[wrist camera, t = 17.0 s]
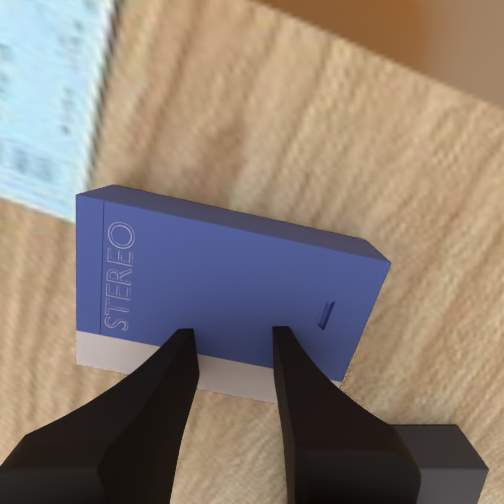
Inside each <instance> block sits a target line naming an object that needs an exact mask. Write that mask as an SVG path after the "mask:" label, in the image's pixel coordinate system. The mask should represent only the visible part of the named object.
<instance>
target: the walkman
mask: <svg viewBox="0 0 504 504" xmlns="http://www.w3.org/2000/svg"><path fill="white" fill-rule="evenodd" d="M390 265H391V262H390V261H389V260H388V259H387V258H385V257H384V256H383V255H382V254H381V253H380V252H379V251H378V250H377V249H375V248H374V247H373V246H372V245H371V244H370V243H369V242H368V241H366V240H364V239H359V238H354V237H350V236H345V235H341V234H336V233H332V232H327V231H323V230H318V229H313V228H309V227H304V226H300V225H295V224H291V223H286V222H282V221H277V220H272V219H268V218H263V217H259V216H254V215H250V214H245V213H241V212H236V211H231V210H227V209H222V208H218V207H213V206H209V205H204V204H200V203H195V202H190V201H186V200H181V199H177V198H172V197H168V196H163V195H159V194H154V193H149V192H145V191H140V190H136V189H131V188H127V187H122V186H118V185H110V186H106V187H103V188H99V189H95V190H91V191H87V192H84V193H80V194H77V195H76V363H77V364H78V365H83V366H88V367H93V368H99V369H104V370H109V371H115V372H120V373H125V374H131V373H132V372H133V371H134V370H136V369H137V368H138V367H139V366H140V365H142V364H143V363H144V362H145V361H146V360H147V359H148V358H149V357H150V356H151V355H153V354H154V353H155V352H156V351H157V350H158V349H159V348H160V347H161V346H162V345H163V344H164V343H165V342H166V341H167V340H168V339H169V338H170V337H171V336H172V335H173V334H174V333H175V332H176V331H177V330H178V329H184V328H193V329H194V336H195V343H196V350H197V357H198V364H199V371H200V376H199V381H198V385H197V388H196V389H200V390H205V391H211V392H216V393H221V394H226V395H232V396H237V397H242V398H248V399H253V400H258V401H263V402H269V403H274V404H278V402H277V396H276V390H275V383H274V374H273V337H272V326H288V327H290V328H291V330H292V332H293V334H294V335H295V337H296V339H297V340H298V342H299V343H300V345H301V346H302V347H303V349H304V350H305V352H306V353H307V354H308V356H309V357H310V358H311V359H312V361H313V362H314V363H315V364H316V365H317V367H318V368H319V369H320V370H321V371H322V372H323V373H324V374H325V375H326V376H327V377H328V378H329V379H330V380H331V381H332V382H333V383H334V384H335V385H336V386H337V387H338V388H340V386H341V384H342V380H343V378H344V376H345V373H346V371H347V368H348V366H349V364H350V361H351V359H352V356H353V354H354V352H355V349H356V347H357V345H358V342H359V340H360V337H361V335H362V333H363V330H364V328H365V325H366V323H367V321H368V318H369V316H370V313H371V311H372V309H373V306H374V304H375V301H376V299H377V297H378V294H379V292H380V289H381V287H382V285H383V282H384V280H385V277H386V275H387V273H388V270H389V268H390Z"/></svg>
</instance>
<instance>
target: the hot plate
mask: <svg viewBox="0 0 504 504" xmlns="http://www.w3.org/2000/svg"><path fill="white" fill-rule="evenodd" d="M390 426H391V427H393V428H395V429H396V430H397V432H398V433H399V435H400V436H401V438H402V439H403V441H404V442H405V444H406V445H407V447H408V449H409V450H410V452H411V454H412V455H413V457H414V459H415V461H416V463H417V465H418V468H419V470H420V473H421V475H422V476H421V486H420V490H419V494H418V498H417V504H477V503H478V500H479V497H480V494H481V491H482V488H483V485H484V482H485V480H486V477H487V474H488V471H489V469H488V467H487V466H486V464H485V463H484V461H483V460H482V459H481V457H480V456H479V454H478V453H477V452H476V450H475V449H474V448H473V446H472V445H471V443H470V442H469V441H468V439H467V438H466V436H465V435H464V434H463V432H462V431H461V429H460V428H459V427H458V426H457V425H390ZM287 504H288V497H287Z"/></svg>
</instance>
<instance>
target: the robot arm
mask: <svg viewBox="0 0 504 504" xmlns="http://www.w3.org/2000/svg"><path fill="white" fill-rule="evenodd" d="M272 337H273V374H274V383H275V390H276V396H277V402H278V408H279V414H280V420H281V426H282V434H283V443H284V456H285V470H286V483H287V497H288V504H416V502H417V498H418V494H419V490H420V486H421V476H422V475H421V473H420V470H419V468H418V465H417V463H416V461H415V459H414V457H413V455H412V454H411V452H410V450H409V449H408V447H407V445H406V444H405V442H404V441H403V439H402V438H401V436H400V435H399V433H398V432H397V430H396V429H395V428H393V427H391V426H390V425H388V424H387V423H385V422H384V421H382V420H380V419H379V418H377V417H376V416H374V415H372V414H371V413H369V412H368V411H367V410H365V409H364V408H363V407H361V406H360V405H358V404H357V403H356V402H354V401H353V400H352V399H351V398H350V397H348V396H347V395H346V394H345V393H344V392H342V391H341V390H340V389H339V388H338V387H337V386H336V385H335V384H334V383H333V382H332V381H331V380H330V379H329V378H328V377H327V376H326V375H325V374H324V373H323V372H322V371H321V370H320V369H319V368H318V367H317V365H316V364H315V363H314V362H313V361H312V359H311V358H310V357H309V356H308V354H307V353H306V352H305V350H304V349H303V347H302V346H301V345H300V343H299V342H298V340H297V339H296V337H295V335H294V334H293V332H292V330H291V328H290V327H288V326H272ZM199 376H200V371H199V364H198V357H197V350H196V343H195V336H194V329H193V328H184V329H178V330H177V331H176V332H175V333H174V334H173V335H172V336H171V337H170V338H169V339H168V340H167V341H166V342H165V343H164V344H163V345H162V346H161V347H160V348H159V349H158V350H157V351H156V352H155V353H154V354H153V355H151V356H150V357H149V358H148V359H147V360H146V361H145V362H144V363H143V364H142V365H140V366H139V367H138V368H137V369H136V370H134V371H133V372H132V373H131V374H129V375H128V376H127V377H125V378H124V379H123V380H121V381H120V382H119V383H117V384H116V385H115V386H113V387H112V388H110V389H109V390H107V391H106V392H104V393H103V394H101V395H99V396H98V397H96V398H95V399H93V400H92V401H90V402H88V403H87V404H85V405H83V406H82V407H80V408H78V409H76V410H75V411H73V412H71V413H69V414H67V415H65V416H64V417H62V418H60V419H58V420H56V421H54V422H52V423H50V424H48V425H45V426H43V427H41V428H39V429H37V430H35V431H33V432H31V433H29V434H27V435H25V436H24V437H23V439H22V440H21V441H20V442H19V443H18V445H17V446H16V447H15V448H14V450H13V451H12V452H11V453H10V455H9V456H8V457H7V458H6V460H5V461H4V462H3V463H2V465H1V466H0V504H170V498H171V493H172V487H173V482H174V476H175V471H176V465H177V460H178V455H179V450H180V445H181V440H182V437H183V433H184V429H185V426H186V422H187V419H188V415H189V412H190V409H191V405H192V402H193V399H194V395H195V392H196V388H197V385H198V381H199Z"/></svg>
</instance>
